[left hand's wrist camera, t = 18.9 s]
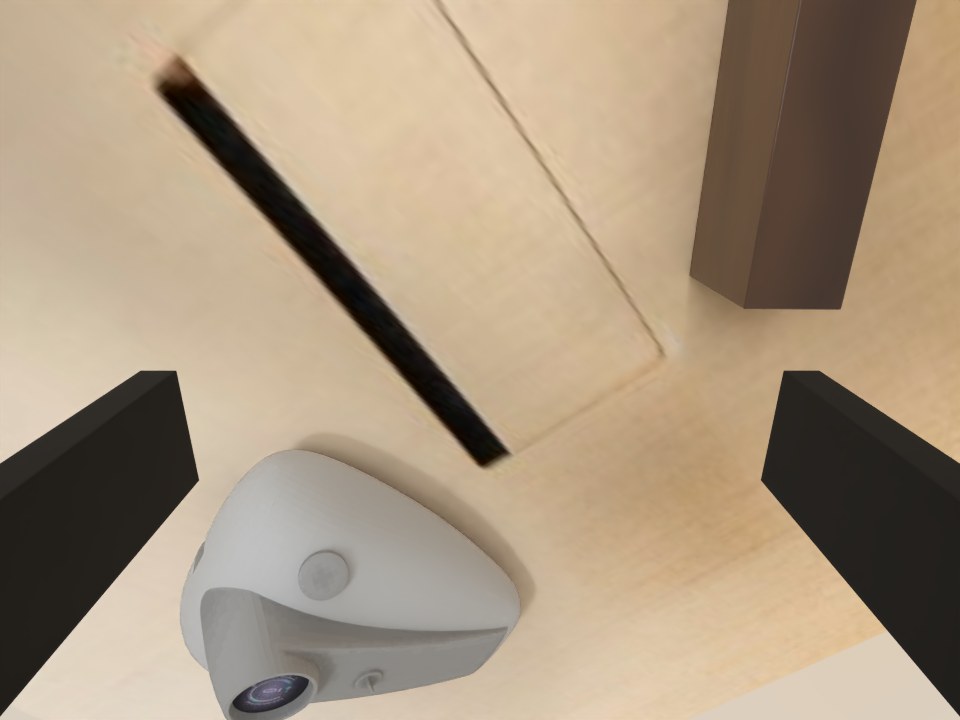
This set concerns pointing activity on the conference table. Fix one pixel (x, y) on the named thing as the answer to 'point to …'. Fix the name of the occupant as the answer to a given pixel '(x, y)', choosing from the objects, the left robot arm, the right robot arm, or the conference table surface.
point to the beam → (795, 146)
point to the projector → (335, 592)
